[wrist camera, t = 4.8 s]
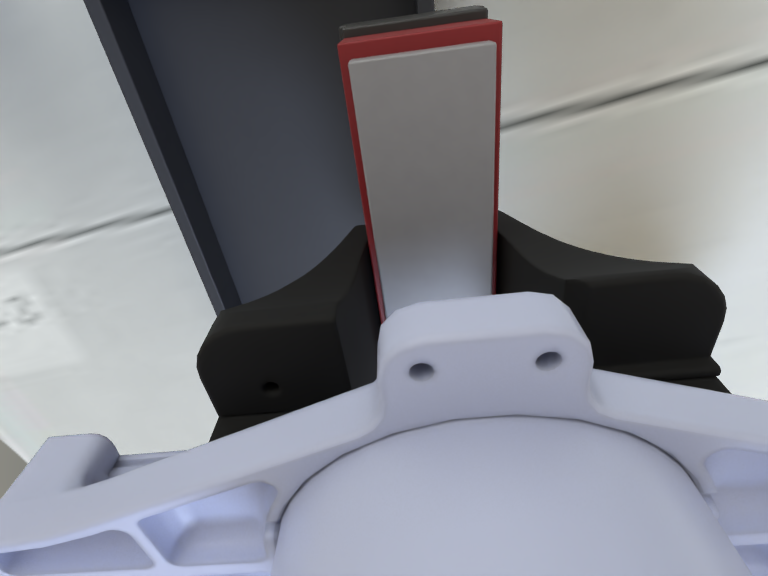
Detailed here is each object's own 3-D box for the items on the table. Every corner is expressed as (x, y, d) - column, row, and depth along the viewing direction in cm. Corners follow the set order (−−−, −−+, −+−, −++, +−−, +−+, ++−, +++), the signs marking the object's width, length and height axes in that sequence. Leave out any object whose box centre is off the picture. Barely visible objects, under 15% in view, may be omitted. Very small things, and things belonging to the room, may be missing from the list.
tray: (447, 318, 26) (452, 345, 24) (249, 337, 27) (237, 365, 25) (423, -74, 16) (429, -86, 14) (110, -22, 17) (71, -25, 15)
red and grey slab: (478, 366, 19) (501, 458, 15) (393, 373, 19) (396, 465, 15) (476, 5, 11) (520, 6, 8) (341, 24, 12) (321, 34, 8)
